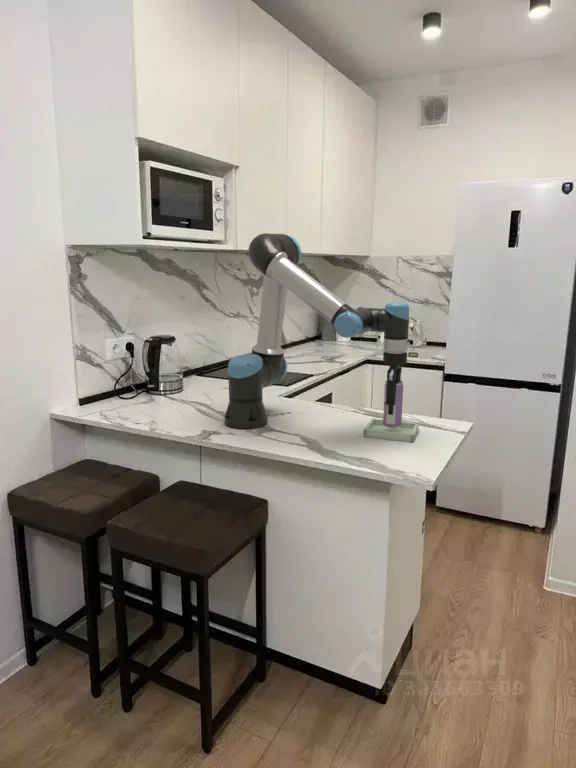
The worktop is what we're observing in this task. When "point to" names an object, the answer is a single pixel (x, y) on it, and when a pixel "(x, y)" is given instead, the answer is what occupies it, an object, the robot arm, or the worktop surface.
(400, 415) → the beverage can
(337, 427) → the worktop surface
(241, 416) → the robot arm
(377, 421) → the tray
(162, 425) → the worktop surface
